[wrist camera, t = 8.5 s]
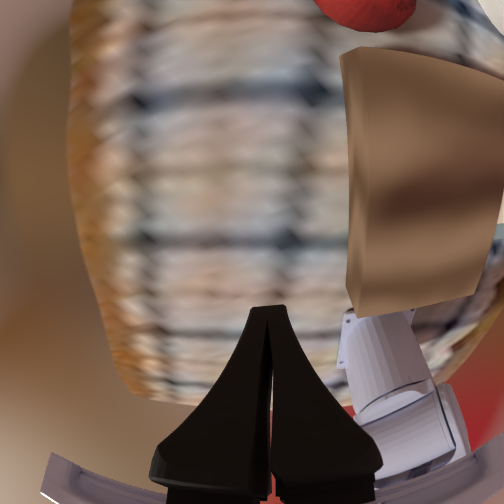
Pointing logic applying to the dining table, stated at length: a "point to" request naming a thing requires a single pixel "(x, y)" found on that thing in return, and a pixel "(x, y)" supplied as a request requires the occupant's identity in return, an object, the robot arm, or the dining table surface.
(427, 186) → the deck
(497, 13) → the base with upright slab
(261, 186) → the dining table surface
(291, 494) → the robot arm
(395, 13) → the onion
